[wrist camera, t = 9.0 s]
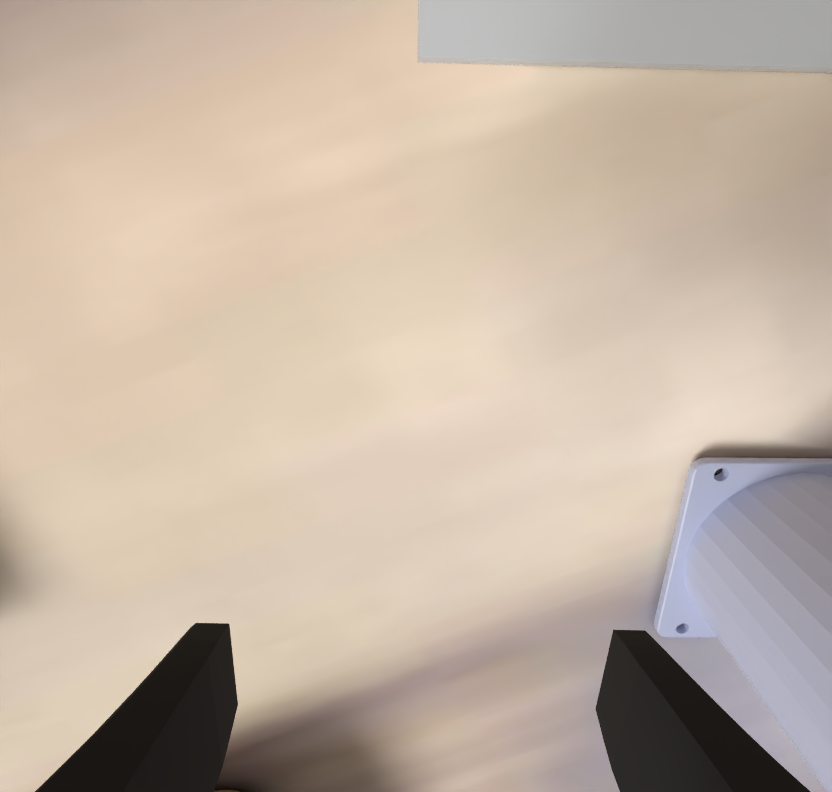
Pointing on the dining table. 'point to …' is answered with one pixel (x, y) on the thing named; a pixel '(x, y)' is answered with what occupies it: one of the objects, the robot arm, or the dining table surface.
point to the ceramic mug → (226, 791)
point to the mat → (630, 33)
